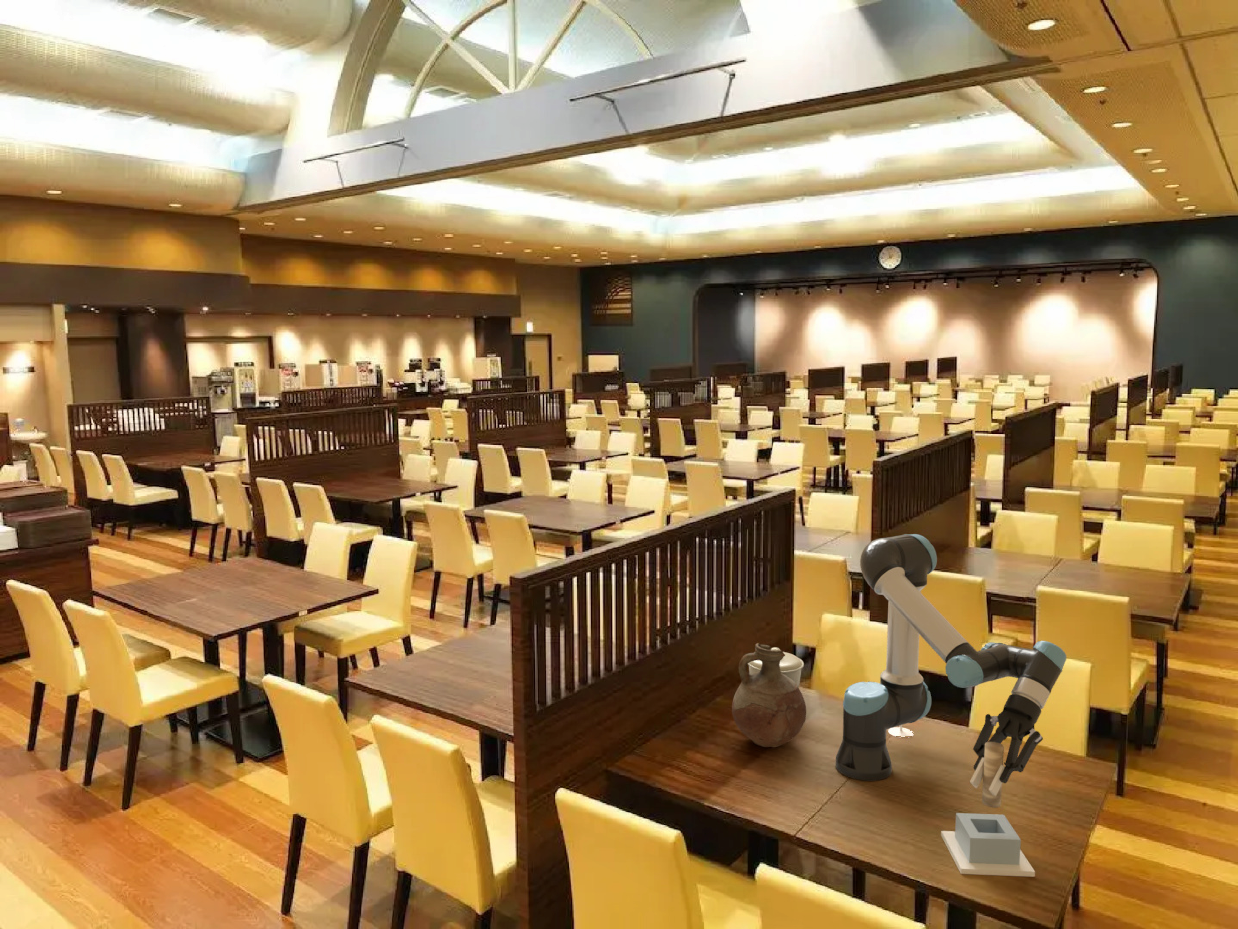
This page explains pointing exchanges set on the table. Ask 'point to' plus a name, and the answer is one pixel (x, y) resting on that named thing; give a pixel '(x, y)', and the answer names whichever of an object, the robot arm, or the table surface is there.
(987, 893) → the table surface
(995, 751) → the birch peg
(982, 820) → the socket block
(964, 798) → the table surface
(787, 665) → the canister
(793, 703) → the jug
